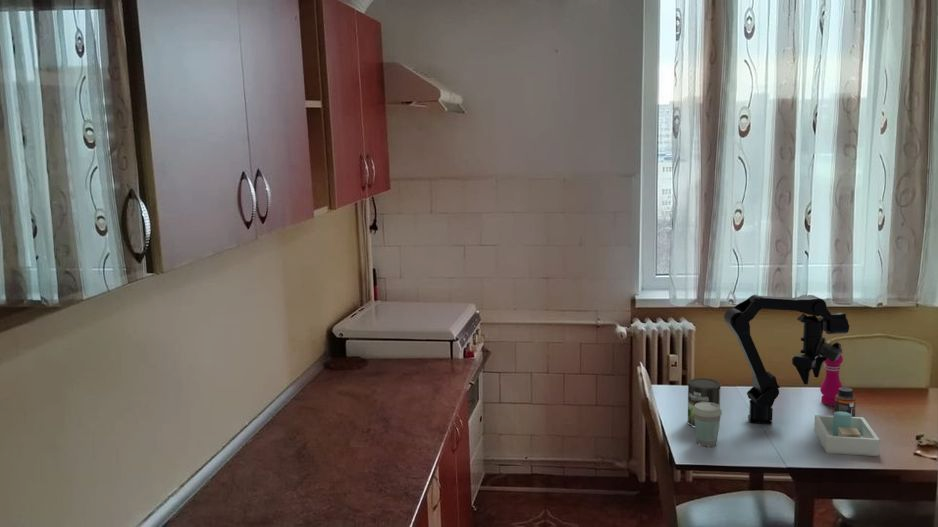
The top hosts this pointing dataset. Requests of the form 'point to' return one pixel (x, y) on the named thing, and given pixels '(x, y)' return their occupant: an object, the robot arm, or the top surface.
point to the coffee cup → (707, 423)
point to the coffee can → (702, 394)
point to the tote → (847, 445)
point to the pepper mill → (831, 381)
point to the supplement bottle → (845, 401)
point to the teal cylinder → (841, 421)
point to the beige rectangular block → (848, 432)
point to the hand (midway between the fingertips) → (811, 380)
